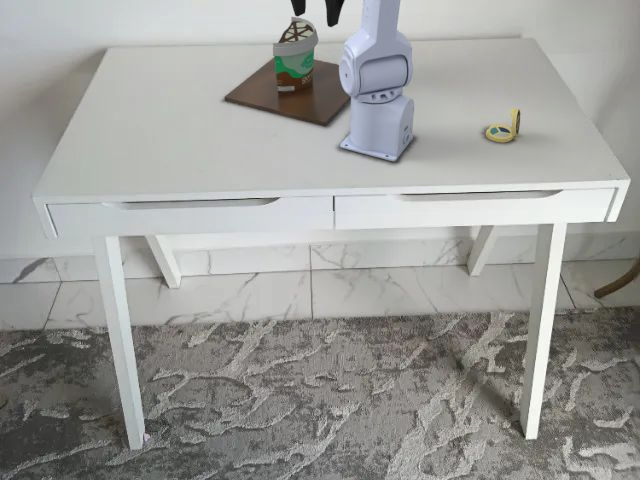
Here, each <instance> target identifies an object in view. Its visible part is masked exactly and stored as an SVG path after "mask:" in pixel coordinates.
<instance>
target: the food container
mask: <svg viewBox="0 0 640 480" xmlns="http://www.w3.org/2000/svg"><path fill="white" fill-rule="evenodd" d="M318 43H319V36H318V32H317V28H316V27H315V25H314V24H313V23H312V22H311V21H309V20H308V19H305V18H302V17H299V16H298V17H297V16H291V20H290V24H289V26H288V27H287V28H286V29H285V30H284V31H283V33H282V34H281V37H280V38H279V40H278V42H272V56H273V58H274V59H275V68H276V78H277V88H278V94H279V95H289V94H296V93H300V92H303V91H305V90H307V89H308V88H310V87H311V85H312V83H313V64H314V59H315V47H316V46H317V45H318Z"/></svg>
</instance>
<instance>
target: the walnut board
mask: <svg viewBox="0 0 640 480" xmlns="http://www.w3.org/2000/svg"><path fill="white" fill-rule="evenodd" d="M224 101H225V102H228V103H233V104H236V105H240V106H244V107H248V108H252V109H256V110H260V111H264V112H267V113H271V114H276V115H280V116H284V117H288V118H291V119H295V120H299V121H302V122H307V123H311V124H314V125H319V126H323V127H326V126H328V124H330V122H331V121H332V120H333V119H334V118H335V117H336V116H337V115H338V114H339V113H340V112H341V111H342V109H344V108H345V106H347V104H349V103H350V102H351V96H349V95H348V94H347V93H346V92H345V91H344V89H343V87H342V84H341V81H340V75H339V64H337V63H333V62H328V61H325V60H319V59H315V58H314V64H313V83H312V85H311V87H310V88H308V89H307V90H305V91H303V92H300V93H296V94H289V95H279V94H278V88H277V78H276V68H275V59H274V57H272V58H271V59H270V60H268V62H266V63H265V64H264V65H262V66H261V67H260V68H259V69H258V70H255V72H254V73H252V74H251V75H249V77H248V78H246V79H245V80H243V82H241V83H240V84H239V85H237V86H236V87H235V88H234V89H232V90H231V91H229V92H228V93H227V94H226V95H225V96H224Z"/></svg>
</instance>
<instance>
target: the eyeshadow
mask: <svg viewBox="0 0 640 480" xmlns="http://www.w3.org/2000/svg"><path fill="white" fill-rule="evenodd" d="M510 116H511V118H512V119H511V120H512V121H511V127H510V126H508V125H505V124H491V125H490V126H489V127H488V129H486V131H485V137H487V139H489V140H491V141H493V142H496V143H508V142H510V141H512V140H513V139H514V137H518V135H519V133H520V127H521V126H520V125H521V109H520V108H517V107H515V108H511V109H510Z"/></svg>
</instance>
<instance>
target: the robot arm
mask: <svg viewBox="0 0 640 480" xmlns="http://www.w3.org/2000/svg"><path fill="white" fill-rule="evenodd" d="M345 1H346V0H324V2H325V8H326V24H327V27H328V28H333V27H335V26H337V25H338V24H339V21H340V20H339V19H340V16H341V13H342V9H343V5H344V3H345ZM290 3H291V6H292V10H293V14H294V17H298V18H299V17H300V16H302V15H305V14H306V8H307V0H290ZM400 7H401V0H362V7H361V8H362V10H361V21H360V28H359V29H358V30H356V32H355V33H354V34H352V35H351V36H350V37H349V38H348V39H346V41H345V42H344V45H343V51H342V56H341V58H340V60H339V64H338V65H339V75H340V81H341V84H342V87H343V89H344V91H345V92H346V93H347V94H348V95H349V96H351V100H350V124H349V125H350V126H349V129H350V131H349V134H348V135H347V136H346V137H345V139H343V141H342V142H341V143H340V144H339V145H340V148H341V149H344V150H348V151H352V152H355V153H359V154H363V155H366V156H370V157H374V158H378V159H382V160H384V161H385V160H386V161H389V162H396V161H397V160H398V159H399V157H400V156H401V155H402V154H403V152H404V151H405V150H406V148H407V147H408V146H409V144H410V142H412V141H413V139H414V135H413V134H412V133H413V125H414V115H415V114H414V113H415V101H414V99H412V98H411V97H408V96H406V95H404V87H407V86H409V84H410V83H411V80H412V79H413V75H414V74H413V73H414V64H413V46H412V44H411V42H410V39H409V38H408V37H407V36H406V35H405V34H404V33H403V32H401V31H399V30H398V22H399V15H400Z"/></svg>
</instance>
